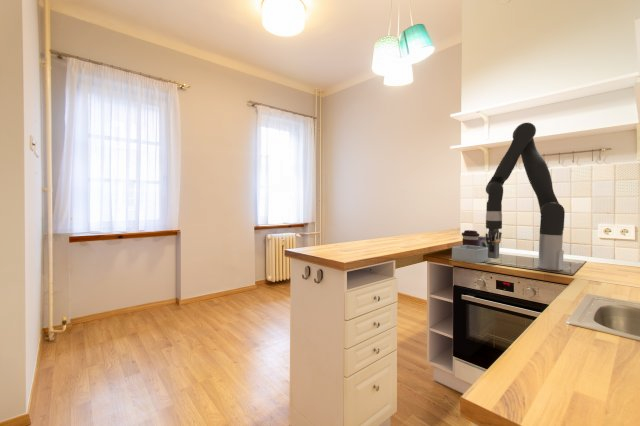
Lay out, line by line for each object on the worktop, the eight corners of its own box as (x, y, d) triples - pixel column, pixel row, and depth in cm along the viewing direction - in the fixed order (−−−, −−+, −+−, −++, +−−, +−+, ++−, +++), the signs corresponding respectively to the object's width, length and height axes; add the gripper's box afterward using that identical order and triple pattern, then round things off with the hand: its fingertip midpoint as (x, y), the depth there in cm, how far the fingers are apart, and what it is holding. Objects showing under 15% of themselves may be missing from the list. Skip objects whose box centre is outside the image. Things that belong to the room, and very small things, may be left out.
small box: (473, 252, 196) (473, 236, 196) (480, 251, 199) (480, 236, 199) (488, 255, 187) (488, 238, 186) (495, 254, 190) (495, 238, 189)
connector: (499, 257, 160) (499, 239, 160) (495, 258, 158) (496, 239, 157) (491, 256, 164) (491, 238, 163) (487, 257, 161) (487, 239, 161)
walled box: (490, 260, 171) (490, 247, 170) (476, 263, 161) (476, 250, 161) (466, 256, 182) (466, 244, 182) (451, 259, 173) (452, 247, 172)
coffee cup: (458, 254, 189) (458, 230, 189) (465, 252, 195) (466, 229, 195) (474, 256, 181) (474, 231, 181) (481, 254, 187) (482, 231, 187)
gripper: (495, 220, 153) (494, 254, 153) (507, 219, 161) (506, 251, 162) (480, 220, 159) (479, 252, 159) (492, 219, 167) (492, 249, 168)
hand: (493, 251), depth 161 cm, fingers closed on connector, 4 cm apart
